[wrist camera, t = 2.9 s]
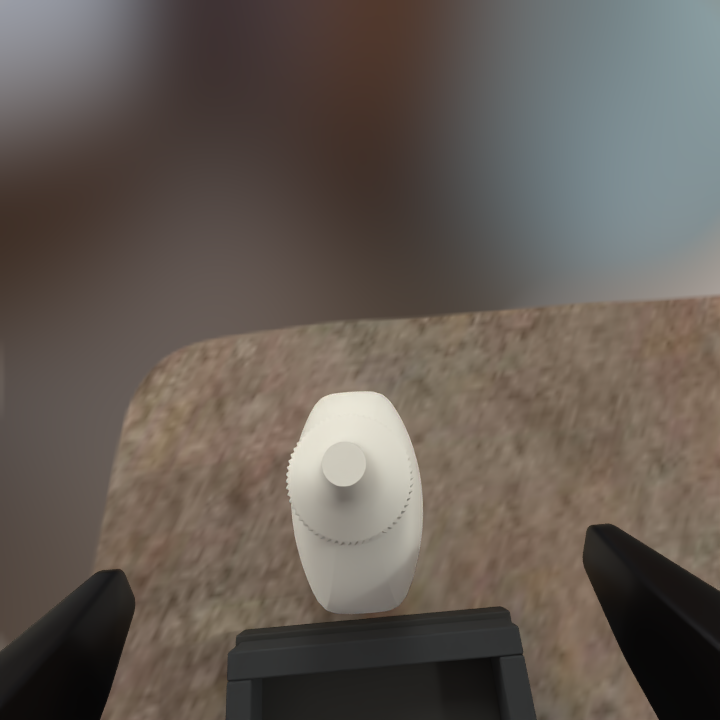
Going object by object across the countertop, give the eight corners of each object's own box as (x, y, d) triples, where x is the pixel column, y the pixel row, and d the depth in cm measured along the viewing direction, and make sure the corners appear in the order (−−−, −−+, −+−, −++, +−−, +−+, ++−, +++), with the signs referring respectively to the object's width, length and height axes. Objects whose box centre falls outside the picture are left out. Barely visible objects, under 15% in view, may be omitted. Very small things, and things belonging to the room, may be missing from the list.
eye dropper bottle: (436, 469, 18) (534, 367, 7) (383, 602, 16) (400, 749, 5) (347, 427, 19) (307, 276, 8) (286, 549, 17) (121, 575, 6)
